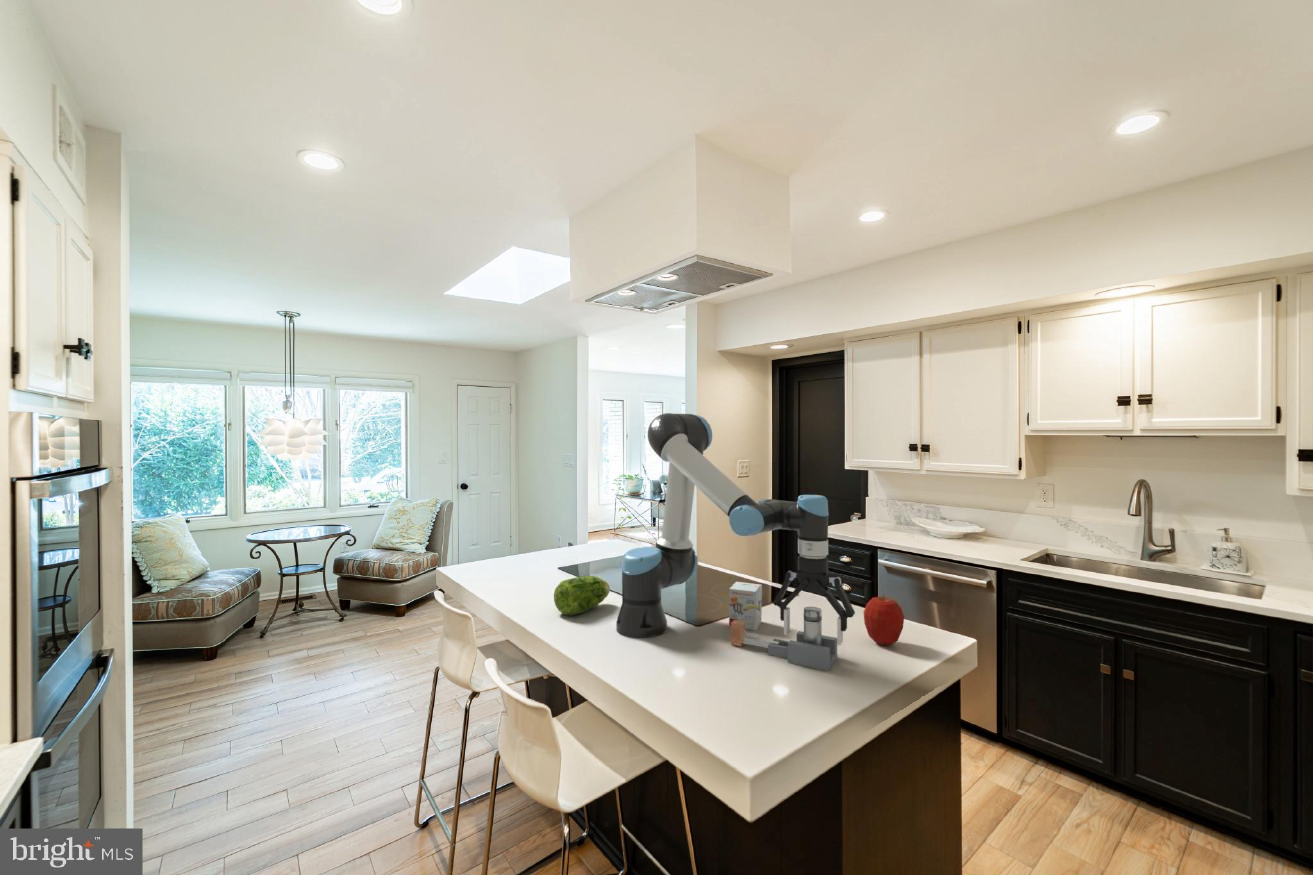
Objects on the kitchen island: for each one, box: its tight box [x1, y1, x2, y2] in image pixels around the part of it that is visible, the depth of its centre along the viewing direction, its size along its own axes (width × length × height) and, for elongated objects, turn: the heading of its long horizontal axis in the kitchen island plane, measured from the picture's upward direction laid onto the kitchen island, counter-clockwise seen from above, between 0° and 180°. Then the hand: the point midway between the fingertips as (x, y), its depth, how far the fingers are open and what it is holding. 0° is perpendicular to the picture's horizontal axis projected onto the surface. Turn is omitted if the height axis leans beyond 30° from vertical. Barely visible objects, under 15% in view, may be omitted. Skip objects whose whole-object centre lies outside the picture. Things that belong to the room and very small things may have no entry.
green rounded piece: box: [553, 575, 611, 616], centre depth 184 cm, size 12×21×11 cm, turn 141°
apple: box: [862, 593, 905, 647], centre depth 154 cm, size 10×10×14 cm
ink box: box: [728, 581, 763, 631], centre depth 170 cm, size 9×9×12 cm
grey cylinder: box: [803, 606, 823, 646], centre depth 143 cm, size 4×4×13 cm
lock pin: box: [730, 620, 780, 649], centre depth 150 cm, size 13×3×6 cm, turn 59°
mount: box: [767, 630, 838, 672], centre depth 144 cm, size 16×10×5 cm, turn 59°
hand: (812, 638), depth 143 cm, fingers open, 13 cm apart
